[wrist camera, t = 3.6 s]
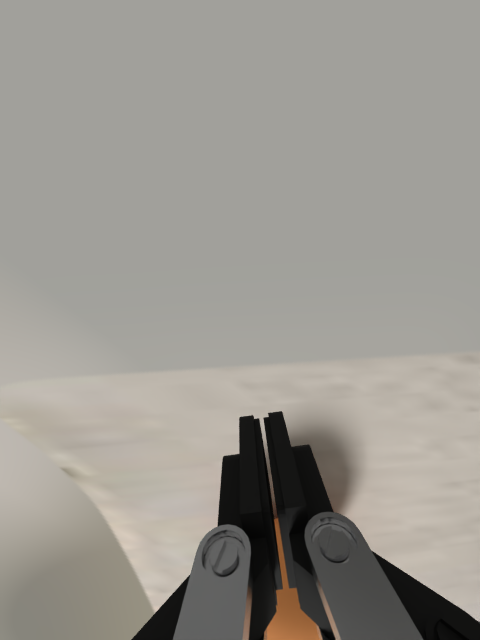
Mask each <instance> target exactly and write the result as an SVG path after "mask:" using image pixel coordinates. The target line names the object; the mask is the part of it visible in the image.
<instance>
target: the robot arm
mask: <svg viewBox="0 0 480 640" xmlns="http://www.w3.org/2000/svg"><path fill="white" fill-rule="evenodd" d="M268 415H269V417H265V418H264V425H265V432H266V439H267V446H268V453H269V460H270V467H271V474H272V481H273V488H274V495H275V502H276V508H277V515H278V521H279V528H280V534H281V540H282V547H283V553H284V559H285V566H286V572H287V578H288V585H289V589H290V588H297V594H298V600H299V603H300V609H301V610H302V611H303V612H304V613H305V614H306V615H307V616H308V617H309V618H310V619H311V620H312V621H314V622H315V623H316V627H317V632H318V635H319V638H320V640H480V622H478V621H476V620H475V619H474V618H473V617H471V616H470V615H469V614H468V613H466V612H465V611H463V610H462V609H460V608H459V607H457V606H456V605H454V604H453V603H451V602H450V601H448V600H446V599H445V598H443V597H442V596H440V595H439V594H437V593H436V592H434V591H433V590H431V589H430V588H428V587H426V586H425V585H423V584H422V583H420V582H419V581H417V580H416V579H414V578H413V577H411V576H410V575H408V574H406V573H405V572H403V571H402V570H400V569H399V568H397V567H396V566H394V565H393V564H391V563H390V562H388V561H386V560H385V559H383V558H382V557H380V556H379V555H377V554H376V553H374V552H373V551H371V549H370V547H369V546H368V544H367V542H366V541H365V539H364V537H363V535H362V534H361V532H360V530H359V529H358V528H357V527H356V525H355V524H354V523H353V522H352V521H351V520H349V519H348V518H347V517H345V516H343V515H341V514H339V513H334V512H333V509H332V506H331V504H330V501H329V498H328V495H327V492H326V490H325V487H324V484H323V481H322V478H321V476H320V473H319V470H318V467H317V464H316V461H315V459H314V456H313V453H312V450H311V448H310V446H309V445H302V446H295V447H291V444H290V440H289V436H288V432H287V428H286V425H285V421H284V417H283V413H282V411H280V412H273V413H268ZM239 442H240V454H236V455H228V456H224V457H223V462H222V475H221V488H220V501H219V515H218V527H216V528H214V529H212V530H211V531H210V532H208V533H207V534H206V535H205V537H204V538H203V539H202V541H201V542H200V544H199V547H198V549H197V552H196V556H195V559H194V563H193V567H192V570H191V574H190V575H189V576H188V577H187V579H186V580H185V581H184V582H183V583H182V584H181V585H180V586H179V587H178V589H177V590H176V591H175V592H174V593H173V594H172V595H171V596H170V597H169V599H168V600H167V601H166V602H165V603H164V604H163V605H162V606H161V607H160V609H159V610H158V611H157V612H156V613H155V614H154V615H153V616H152V617H151V619H150V620H149V621H148V622H147V623H146V624H145V625H144V626H143V628H142V629H141V630H140V631H139V632H138V633H137V634H136V635H135V636H134V637H133V639H132V640H267V637H268V636H267V627H268V625H269V624H270V622H271V620H272V619H273V617H274V615H275V614H276V612H277V609H276V605H278V604H277V594H276V590H281V589H283V584H282V576H281V569H280V561H279V553H278V545H277V538H276V530H275V522H274V514H273V507H272V499H271V491H270V484H269V477H268V470H267V464H266V458H265V452H264V445H263V439H262V433H261V427H260V421H259V418H258V419H254V417H253V415H251V416H244V417H240V418H239Z"/></svg>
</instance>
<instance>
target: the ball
mask: <svg viewBox="0 0 480 640" xmlns="http://www.w3.org/2000/svg"><path fill="white" fill-rule="evenodd" d="M274 522H275V530H276V538H277V545H278V553H279V561H280V569H281V576H282V584H283V589H281V590H276V594H277V604H278V605H276V609H277V612H276V614H275V615H274V617H273V619H272V620H271V622H270V624H269V625H268V627H267V636H268V637H267V640H320V638H319V635H318V632H317V627H316V623H315V622H314V621H312V620H311V619H310V618H309V617H308V616H307V615H306V614H305V613H304V612H303V611H302V610H301V609H300V603H299V600H298V594H297V588H290V589H289V585H288V578H287V572H286V566H285V559H284V553H283V547H282V540H281V534H280V528H279V521H278V518H276V519H274Z"/></svg>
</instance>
